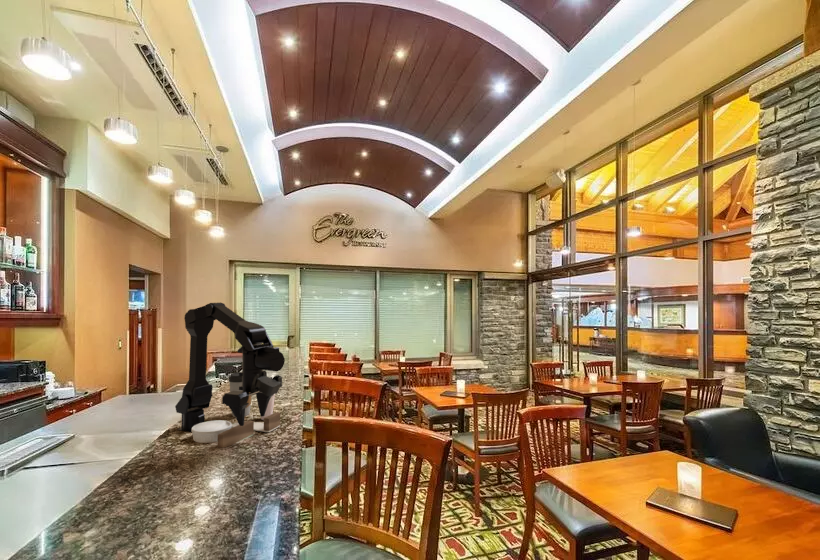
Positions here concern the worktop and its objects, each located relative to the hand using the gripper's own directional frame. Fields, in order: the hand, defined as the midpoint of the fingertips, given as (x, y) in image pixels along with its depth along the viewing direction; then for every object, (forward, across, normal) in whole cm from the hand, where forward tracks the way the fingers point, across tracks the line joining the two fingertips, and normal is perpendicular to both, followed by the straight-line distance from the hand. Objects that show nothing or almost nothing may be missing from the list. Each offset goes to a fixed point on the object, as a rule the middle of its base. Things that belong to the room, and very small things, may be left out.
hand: (252, 420), depth 122 cm
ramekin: (+8, 0, +15) cm, 17 cm away
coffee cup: (+7, +23, +24) cm, 34 cm away
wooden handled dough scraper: (+7, 0, +13) cm, 15 cm away
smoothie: (+7, +22, +12) cm, 26 cm away
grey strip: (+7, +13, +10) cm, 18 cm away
